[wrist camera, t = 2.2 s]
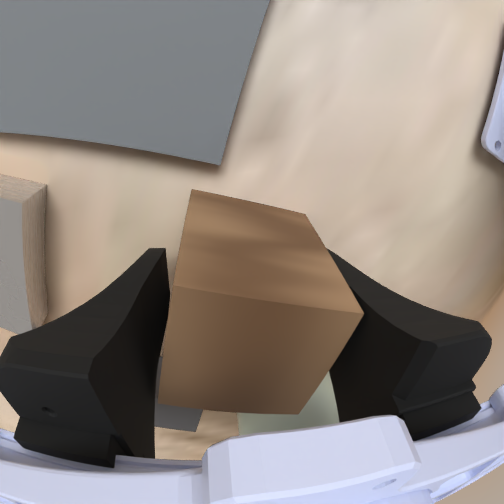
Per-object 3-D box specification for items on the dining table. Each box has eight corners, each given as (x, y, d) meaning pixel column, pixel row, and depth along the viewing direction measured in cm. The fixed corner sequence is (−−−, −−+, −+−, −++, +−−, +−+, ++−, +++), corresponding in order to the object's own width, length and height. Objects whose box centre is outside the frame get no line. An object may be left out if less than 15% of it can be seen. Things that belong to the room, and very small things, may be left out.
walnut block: (305, 214, 12) (364, 313, 7) (271, 302, 15) (298, 414, 9) (191, 189, 11) (172, 285, 6) (173, 286, 14) (157, 403, 8)
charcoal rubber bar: (204, 359, 16) (204, 405, 14) (195, 390, 18) (195, 431, 15) (63, 331, 15) (46, 372, 12) (69, 365, 16) (56, 403, 13)
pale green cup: (349, 351, 17) (379, 421, 13) (310, 408, 20) (326, 469, 16) (249, 342, 16) (261, 426, 11) (224, 404, 19) (229, 473, 14)
